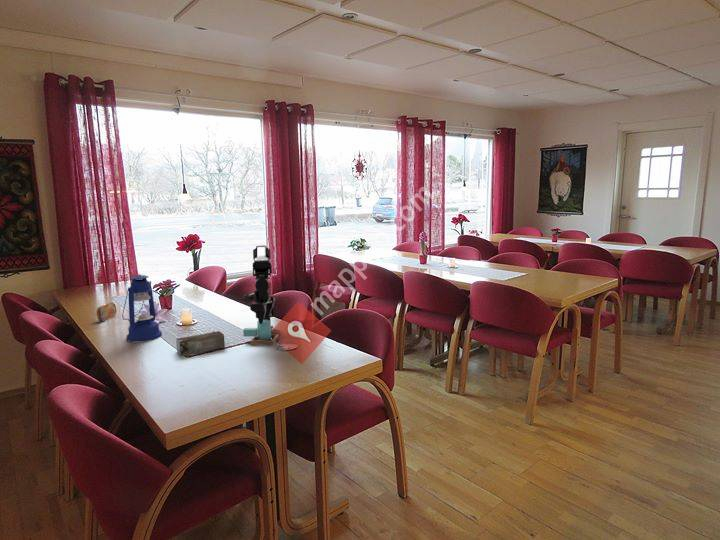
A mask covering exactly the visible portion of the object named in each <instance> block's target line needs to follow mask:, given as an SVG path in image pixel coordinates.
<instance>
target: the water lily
mask: <svg viewBox="0 0 720 540" xmlns="http://www.w3.org/2000/svg"><path fill="white" fill-rule="evenodd" d="M143 306H144V307H143V308H145V310H141V311H140V310H139V311H140V313H139V314H140V315H141V314H145V315H150V311H149V308H150V307H149V304H148V303H143ZM145 306H146V307H145ZM154 308H155V320H154V322H157V323H158V324H159V323H160V321H164V322H168V321H169V320H168V318H166V317H165V316H163V314H164V313H165V312H167V310H168V309H167V308H162V309H159V308H160V303H159V302H156V301H154Z"/></svg>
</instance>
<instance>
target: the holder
mask: <svg viewBox="0 0 720 540" xmlns="http://www.w3.org/2000/svg"><path fill="white" fill-rule="evenodd" d="M271 338H272V339H271V340H272V341H264V340H258V335H257V336H253V338H252V339H251V340H250V345H251V346H270V345H273V346H274V345H275V344H276V343H277V342H278V340H279V339H278V338H280V335H279V334H272V333H271ZM277 339H278V340H277ZM275 342H276V343H275ZM274 343H275V344H274Z"/></svg>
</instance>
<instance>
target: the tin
mask: <svg viewBox="0 0 720 540" xmlns="http://www.w3.org/2000/svg"><path fill="white" fill-rule="evenodd" d="M116 315H117V306H116V304H115V303H114V302H107V303H104V304H102V305H100V306H98V307H97V309H96V317H97V319H98V321H100V322H107V321H108V319H109V320H111V319H113V318H114V317H116ZM110 318H111V319H110ZM106 320H107V321H106Z"/></svg>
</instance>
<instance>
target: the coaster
mask: <svg viewBox="0 0 720 540" xmlns="http://www.w3.org/2000/svg"><path fill="white" fill-rule="evenodd" d="M288 343H289V342H288ZM284 344H285V343H280V344H278V345H277V346H276V349H277V348H278V349H280V350H279V351H281V350H285V348H286V347H283V346H284ZM280 345H281V346H280ZM287 347H289V348H288V349H289V350H290V343H289V346H287ZM278 349H277V350H278ZM286 350H287V349H286ZM290 351H291V350H290Z"/></svg>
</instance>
